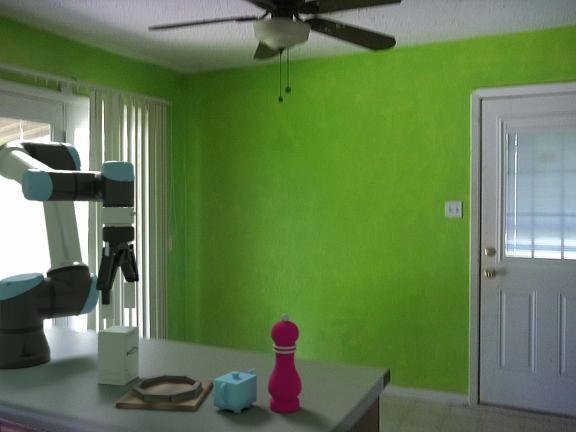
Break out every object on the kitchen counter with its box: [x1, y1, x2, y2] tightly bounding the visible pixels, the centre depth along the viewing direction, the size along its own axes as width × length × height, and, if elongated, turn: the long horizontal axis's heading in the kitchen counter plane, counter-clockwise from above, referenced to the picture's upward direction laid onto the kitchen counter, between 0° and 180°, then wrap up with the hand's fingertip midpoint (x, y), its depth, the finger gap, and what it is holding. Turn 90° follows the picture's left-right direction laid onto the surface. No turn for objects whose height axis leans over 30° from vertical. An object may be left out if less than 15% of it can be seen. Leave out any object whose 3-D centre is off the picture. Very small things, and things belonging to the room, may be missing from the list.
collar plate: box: [115, 373, 214, 411], centre depth 125 cm, size 17×17×2 cm
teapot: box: [213, 367, 258, 414], centre depth 118 cm, size 12×6×8 cm, turn 149°
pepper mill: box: [267, 313, 303, 414], centre depth 117 cm, size 7×7×20 cm
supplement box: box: [97, 325, 140, 386], centre depth 135 cm, size 7×7×13 cm
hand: (119, 313), depth 134 cm, fingers open, 13 cm apart
